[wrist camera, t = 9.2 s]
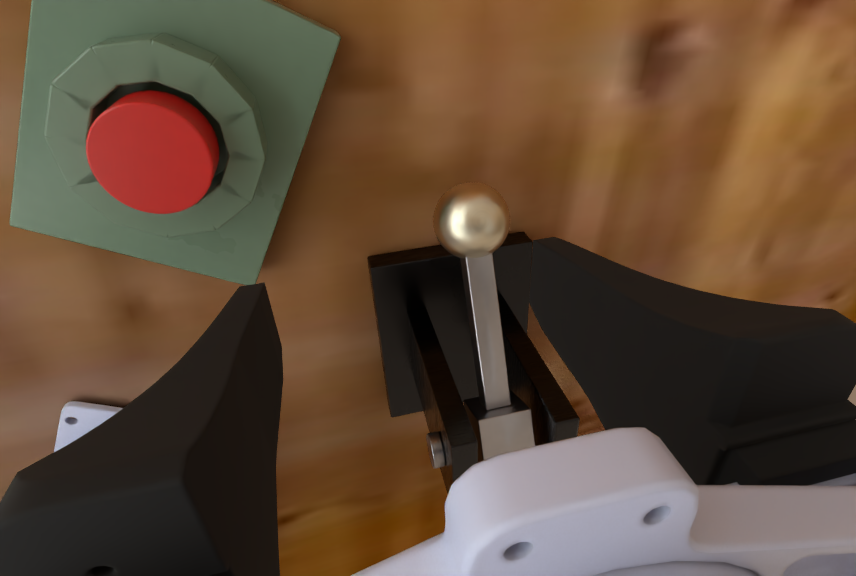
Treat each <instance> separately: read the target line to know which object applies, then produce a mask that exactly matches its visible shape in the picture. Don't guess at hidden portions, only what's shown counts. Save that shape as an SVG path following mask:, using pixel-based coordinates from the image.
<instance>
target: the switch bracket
mask: <svg viewBox="0 0 856 576" xmlns="http://www.w3.org/2000/svg"><path fill="white" fill-rule="evenodd" d="M532 244H533V242H532V241H531V239H530V238H529V237H528V236H527V235H526V234H525V232H518V233H512V234H507V237H506V239H505V240H504V242H503V244H502V245H501V246H500V247H499V248H498V249H497V250H496V251H495V252H493V253H492V255H493V263H494V271H495V279H496V287H497V294H498V302H499V310H500V318H501V326H502V334H503V342H504V350H505V357H506V365H507V373H508V381H509V389H510V390H512V391H513V392H514V393H515V394H516V395H517V396H518V397H519V398H520V399H521V400H522V401H523V402H524V403H525V404H526V405H527V406H528V407H529V408H530V409H531V414H532V422H533V430H534V439H535V446H538V445H543V444H547V443H551V442H556V441H560V440H565V439H569V438H574V437H577V433H578V427H579V420H580V419H579V417H578V415H577V414H576V412H575V410H574V409H573V407H572V406H571V404H570V402H569V401H568V399H567V398H566V396H565V394H564V393H563V391H562V390H561V388H560V386H559V385H558V383H557V382H556V380H555V378H554V377H553V375H552V374H551V372H550V371H549V369H548V367H547V366H546V364H545V363H544V361H543V359H542V358H541V356H540V355H539V353H538V351H537V350H536V348H535V347H534V345H533V343H532V342H531V340H530V339H529V337H528V335H527V324H528V308H529V292H530V276H531V260H532ZM367 259H368V266H369V273H370V280H371V287H372V294H373V301H374V308H375V315H376V322H377V329H378V336H379V343H380V350H381V357H382V364H383V371H384V378H385V385H386V392H387V399H388V405H389V410H390V414H391V417H396V416H401V415H406V414H410V413H415V412H420V411H424V414H425V418H426V421H427V425H428V428H429V432H430V433H428V434H427V436H426V438H427V446H428V451H429V456H430V460H431V463H432V466H433V468H439V467H440V469H441V473H442V476H443V480H444V483H445V486H446V490H447V493H449V491H450V488H451V485H452V484H453V483H454V481H455V480H457V479H458V478H459V477H460V476H461V475H462V474H463V473H464V472H465V471H467V470H468V469H469V468H470V467H471V466H472V465H474V464H476V463H478V441H477V439H476V436H475V433H474V431H473V428H472V426H471V423H470V421H469V418H468V415H467V413H466V410H465V408H464V405H463V400H465V399H470V398H474V397H479V392H478V385H477V378H476V370H475V363H474V356H473V348H472V341H471V334H470V326H469V319H468V312H467V305H466V297H465V290H464V283H463V275H462V268H461V261H460V258H459V257H457V256H454V255H452V254H451V253H449V252H448V251H447V250H446V249H444V247H443V246H442V245H437V246H431V247H425V248H418V249H412V250H406V251H400V252H393V253H387V254H381V255H375V256H369V257H368V258H367Z"/></svg>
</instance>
